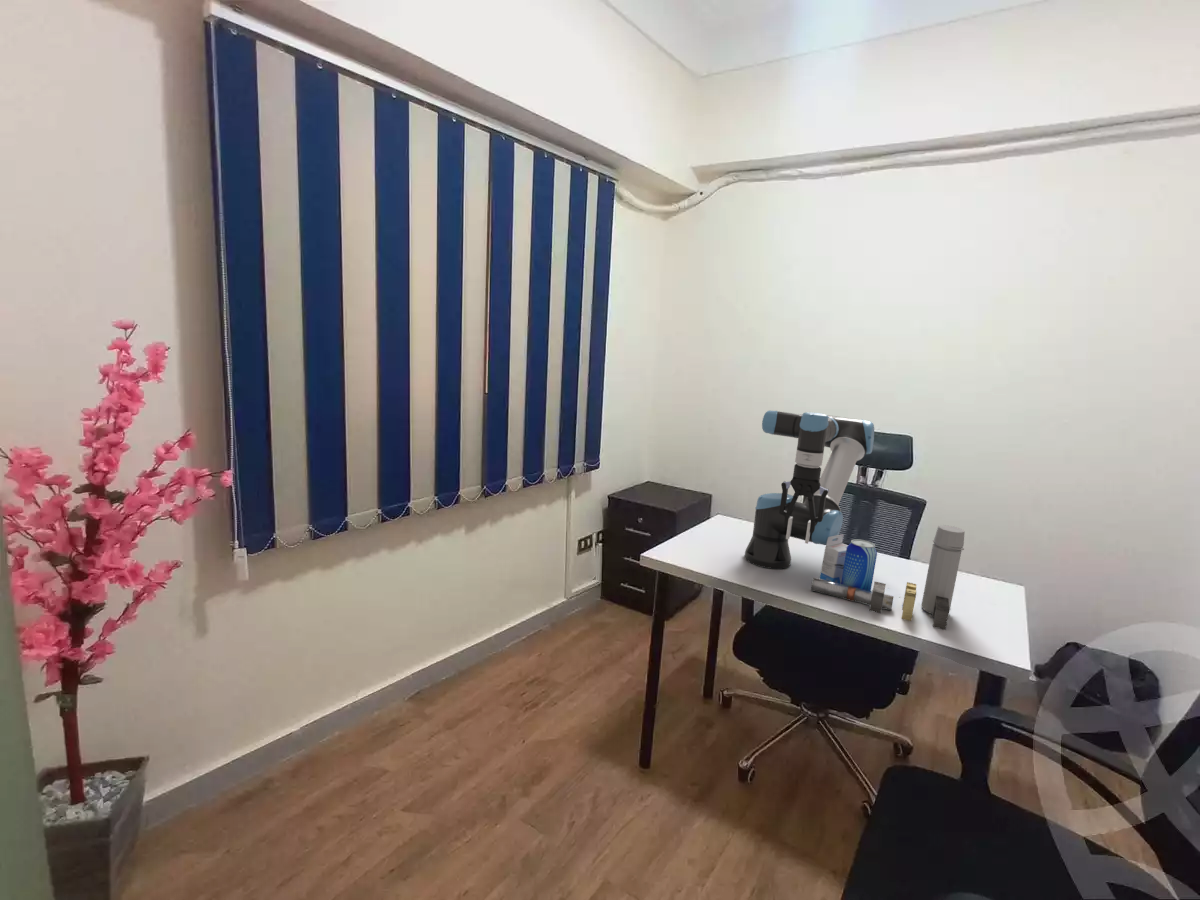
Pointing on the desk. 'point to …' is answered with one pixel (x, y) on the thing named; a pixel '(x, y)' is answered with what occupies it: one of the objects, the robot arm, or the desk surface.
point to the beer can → (859, 564)
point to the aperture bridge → (909, 601)
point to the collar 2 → (940, 612)
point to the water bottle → (943, 565)
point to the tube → (848, 592)
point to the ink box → (833, 559)
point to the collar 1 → (877, 597)
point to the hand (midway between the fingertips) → (797, 540)
